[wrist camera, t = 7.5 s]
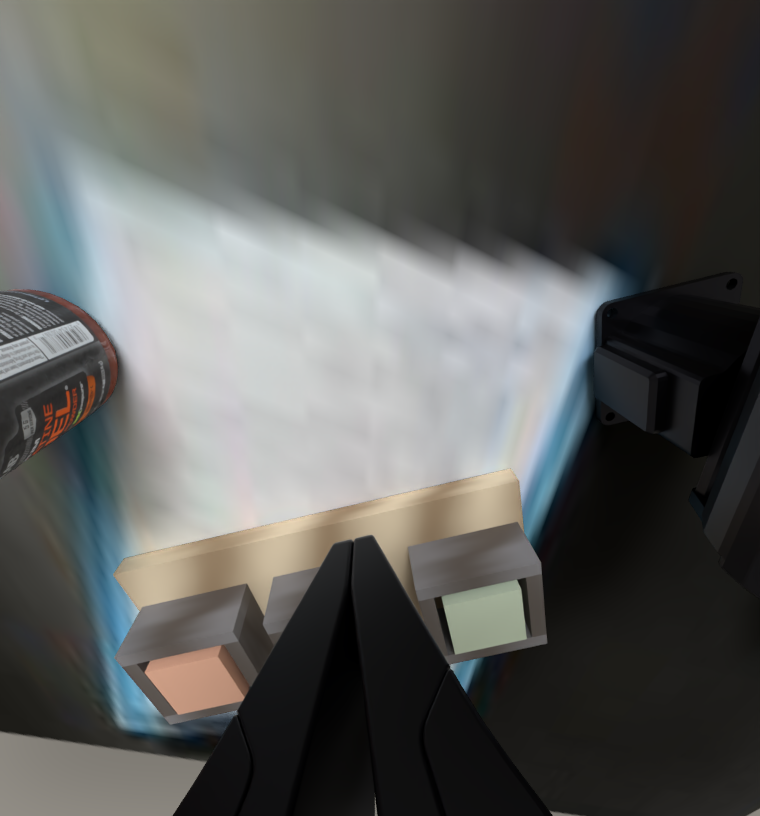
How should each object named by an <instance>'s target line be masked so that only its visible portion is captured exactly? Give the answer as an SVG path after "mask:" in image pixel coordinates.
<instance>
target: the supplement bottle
mask: <svg viewBox="0 0 760 816" xmlns="http://www.w3.org/2000/svg"><path fill="white" fill-rule="evenodd" d="M117 375H118V364H117V358H116V356H115V350H114V348H113V346H112V344H111V342H110V341H109V339H108V337H107V335H106V334H105V333H104V331H103V330H102V329H101V327H100V326H99V325H98V324H97V323H96V321H95V320H94V319H92V318H91V317H90V316H89V315H88V314H87V313H86V312H85V311H83V310H82V309H80V308H79V307H78V306H76V305H74V304H72V303H70V302H68V301H66V300H65V299H63V298H60V297H58V296H55V295H53V294H50V293H46V292H41V291H36V290H20V289H14V290H8V291H0V479H1V478H2V477H4V476H5V475H7V474H8V473H9V472H11V471H12V470H14V469H16V468H17V467H18V466H19V465H20V464H22V463H23V462H24V461H26V460H27V459H29V458H30V457H32V456H33V455H35V454H36V453H38V452H39V451H40V450H41V449H43V448H45V447H46V446H47V445H49V444H50V443H51V442H53V441H54V440H56V439H57V438H59V437H60V436H61V435H63V434H64V433H66V432H67V431H69V430H70V429H72V428H73V427H74V426H76V425H77V424H78V423H80V422H82V421H83V420H84V419H85V418H87V417H88V416H89V415H91V414H92V413H94V412H95V411H96V410H97V409H98V408H100V406H101V405H103V404H104V403H105V402H106V401H107V400H108V398H109V397H110V396H111V394H112V393H113V390H114V388H115V385H116V382H117Z"/></svg>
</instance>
